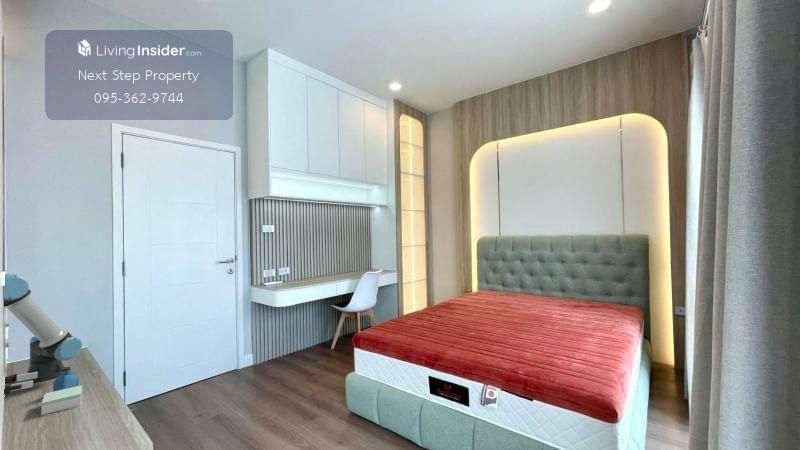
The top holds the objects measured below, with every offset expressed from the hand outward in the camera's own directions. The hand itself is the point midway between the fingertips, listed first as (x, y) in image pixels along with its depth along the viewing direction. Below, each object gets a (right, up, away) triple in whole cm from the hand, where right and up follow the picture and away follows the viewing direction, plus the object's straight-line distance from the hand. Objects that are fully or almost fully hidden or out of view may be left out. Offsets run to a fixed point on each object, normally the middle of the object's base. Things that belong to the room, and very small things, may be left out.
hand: (35, 379), depth 155 cm
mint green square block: (+18, -9, -5) cm, 21 cm away
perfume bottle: (+8, -10, +7) cm, 14 cm away
